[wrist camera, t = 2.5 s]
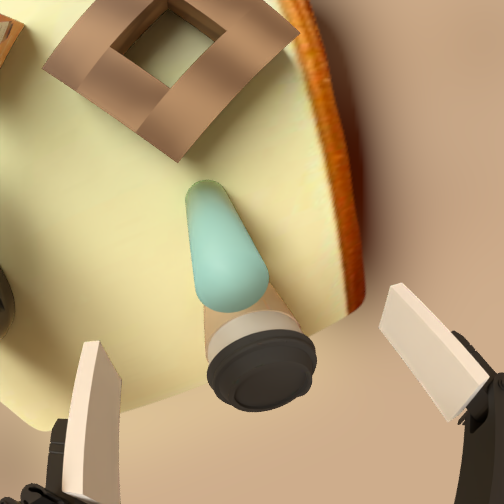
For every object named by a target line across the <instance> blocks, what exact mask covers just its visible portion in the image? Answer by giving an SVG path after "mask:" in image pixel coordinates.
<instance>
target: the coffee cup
mask: <svg viewBox="0 0 504 504" xmlns="http://www.w3.org/2000/svg"><path fill="white" fill-rule="evenodd" d="M204 330H205V351H206V358H207V361H208V363H209V367H208V370H207V380H208V383H209V385H210V386H211V388H212V389H213V390H214V392H215V394H216V395H217V397H218V398H219V399H221V400H222V401H223V402H225V403H227V404H229V405H232V406H234V407H235V408H237V409H239V410H242V411H246V412H262V411H268V410H272V409H275V408H278V407H281V406H283V405H285V404H287V403H289V402H291V401H292V400H293V399H295V398H296V397H299V396H302V395H305V394H306V393H307V392H308V391H309V389H310V387H311V385H312V375H313V373H314V371H315V368H316V364H317V357H316V354H315V353H316V352H315V346H314V344H313V342H312V341H311V340H310V339H309V338H308V337H307V336H306V335H304V334H303V332H302V330H301V327H300V325H299V323H298V322H297V320H296V319H295V317H294V316H293V314H292V313H291V311H290V310H289V309H288V307H287V306H286V304H285V303H284V301H283V300H282V299H281V297H280V296H279V294H278V293H277V291H276V290H275V288H274V287H273V286H272V284H271V283H270V282H269V283H268V287H267V289H266V291H265V293H264V295H263V296H262V297H261V298H260V300H258V301H257V302H256V303H255V304H254V305H252V306H251V307H249V308H247V309H245V310H242V311H238V312H233V313H223V312H217V311H214V310H212V309H210V308H208V307H206V306H205V305H204Z"/></svg>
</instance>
